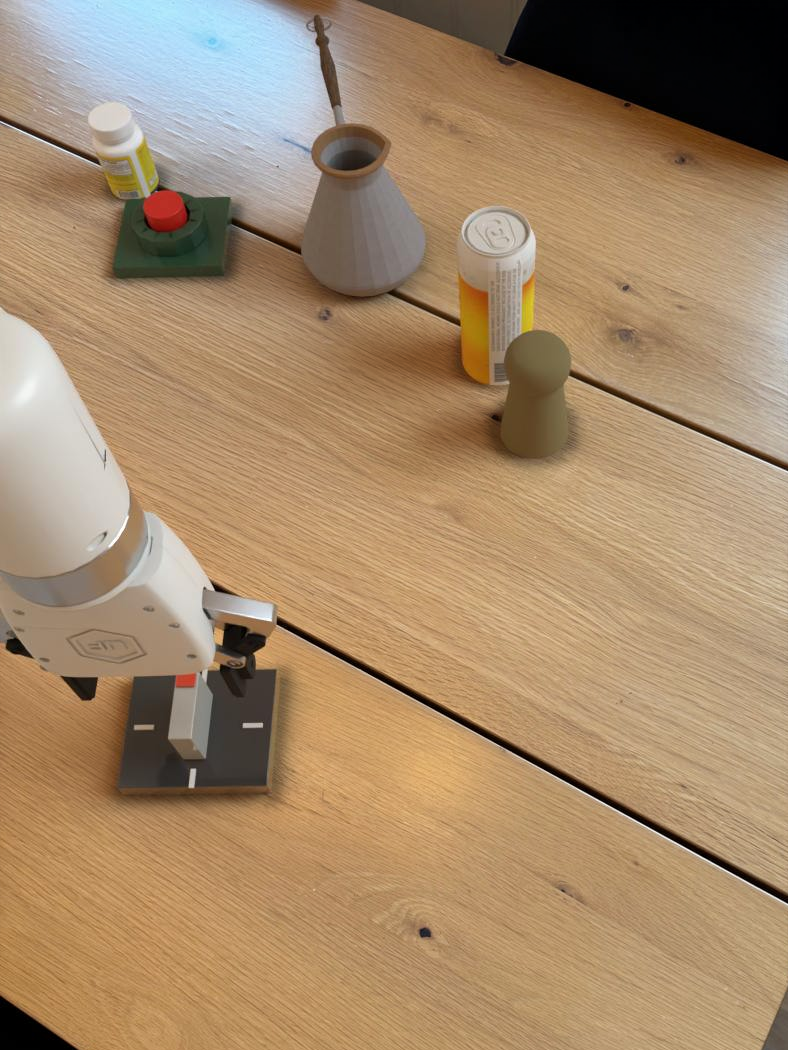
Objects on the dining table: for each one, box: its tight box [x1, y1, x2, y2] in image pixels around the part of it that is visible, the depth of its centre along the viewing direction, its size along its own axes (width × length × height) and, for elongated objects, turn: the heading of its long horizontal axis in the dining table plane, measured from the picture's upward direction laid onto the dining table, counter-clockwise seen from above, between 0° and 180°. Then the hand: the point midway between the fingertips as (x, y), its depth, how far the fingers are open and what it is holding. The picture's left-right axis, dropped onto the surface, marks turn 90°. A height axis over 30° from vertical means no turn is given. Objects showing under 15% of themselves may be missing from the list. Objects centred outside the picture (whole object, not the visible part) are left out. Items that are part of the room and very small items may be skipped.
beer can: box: [456, 205, 537, 386], centre depth 86 cm, size 6×6×15 cm
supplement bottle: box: [87, 101, 160, 202], centre depth 100 cm, size 5×5×8 cm
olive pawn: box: [499, 329, 572, 460], centre depth 84 cm, size 6×6×11 cm
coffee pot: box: [300, 14, 427, 298], centre depth 94 cm, size 21×12×15 cm, turn 13°
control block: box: [111, 190, 234, 279], centre depth 98 cm, size 10×9×4 cm
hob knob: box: [168, 672, 213, 760], centre depth 73 cm, size 5×2×4 cm, turn 1°
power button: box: [143, 190, 188, 232], centre depth 96 cm, size 4×4×2 cm
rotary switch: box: [116, 668, 281, 796], centre depth 76 cm, size 10×9×3 cm
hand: (167, 678), depth 67 cm, fingers open, 9 cm apart
